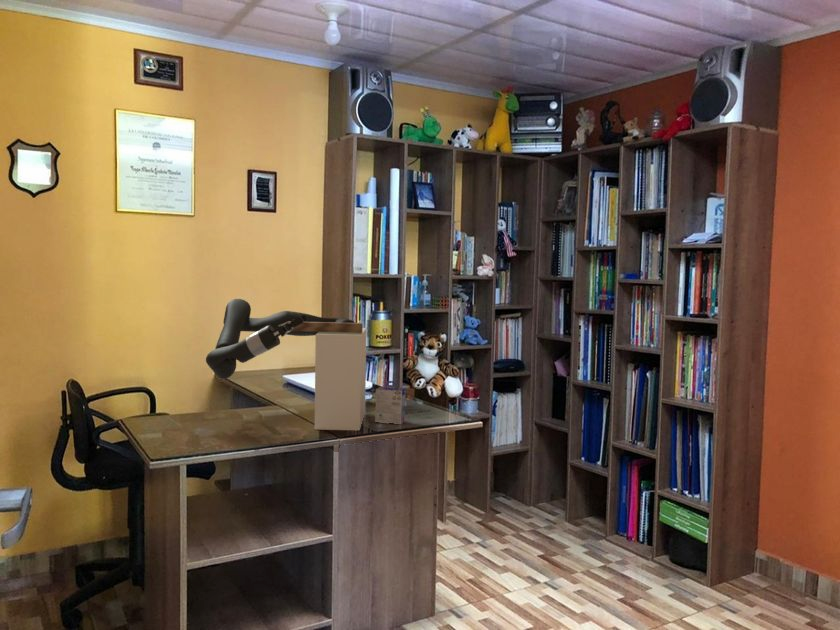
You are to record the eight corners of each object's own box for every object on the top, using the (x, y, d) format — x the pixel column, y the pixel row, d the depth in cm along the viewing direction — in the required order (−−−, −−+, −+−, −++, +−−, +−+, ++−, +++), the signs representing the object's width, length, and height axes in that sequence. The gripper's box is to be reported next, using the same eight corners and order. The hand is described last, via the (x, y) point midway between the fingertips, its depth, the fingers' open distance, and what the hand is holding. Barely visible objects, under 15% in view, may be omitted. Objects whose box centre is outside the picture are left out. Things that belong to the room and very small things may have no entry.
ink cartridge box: (405, 421, 248) (406, 381, 246) (402, 425, 242) (402, 383, 241) (378, 419, 250) (379, 379, 248) (374, 423, 244) (375, 382, 243)
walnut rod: (287, 330, 235) (287, 322, 235) (289, 330, 238) (289, 321, 238) (361, 332, 235) (361, 323, 235) (362, 331, 238) (362, 323, 238)
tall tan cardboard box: (314, 429, 233) (315, 333, 230) (324, 413, 257) (325, 326, 254) (359, 430, 233) (361, 334, 231) (364, 414, 257) (366, 327, 254)
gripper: (252, 333, 229) (295, 309, 229) (262, 329, 244) (302, 306, 243) (263, 353, 230) (306, 329, 229) (272, 347, 244) (313, 325, 243)
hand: (304, 318), depth 236 cm, fingers open, 8 cm apart
